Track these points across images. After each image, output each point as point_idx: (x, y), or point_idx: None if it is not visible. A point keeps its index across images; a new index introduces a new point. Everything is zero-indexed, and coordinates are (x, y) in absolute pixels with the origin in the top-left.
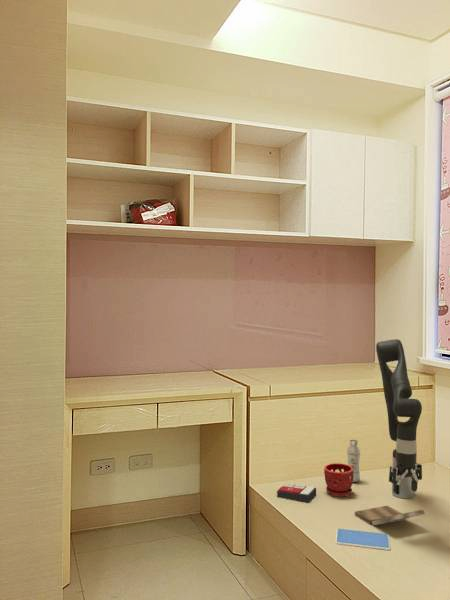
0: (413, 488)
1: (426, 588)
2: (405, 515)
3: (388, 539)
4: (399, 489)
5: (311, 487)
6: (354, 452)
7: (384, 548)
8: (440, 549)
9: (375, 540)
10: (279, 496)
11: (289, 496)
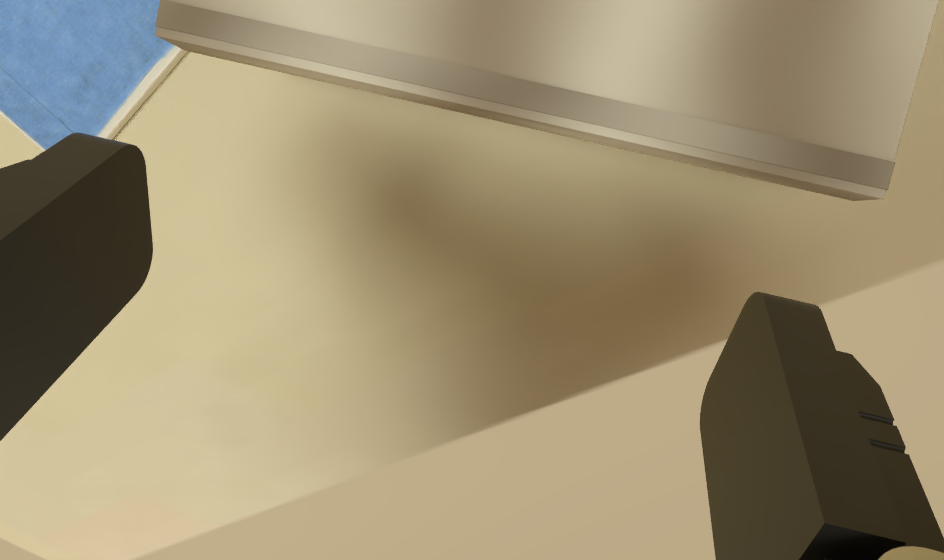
0: (730, 403)
1: (27, 518)
2: (467, 109)
3: (170, 48)
4: (69, 363)
5: None
6: None
7: (28, 137)
8: (498, 396)
9: None
10: None
11: None
